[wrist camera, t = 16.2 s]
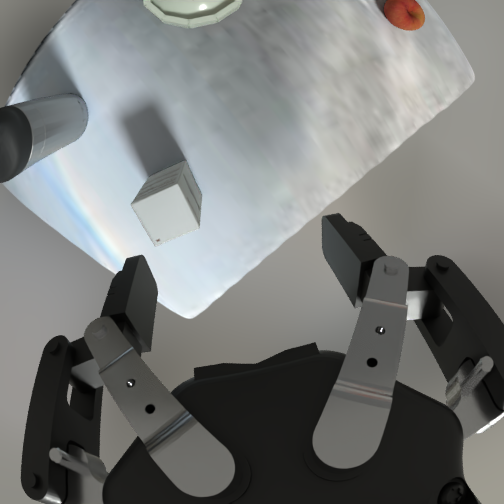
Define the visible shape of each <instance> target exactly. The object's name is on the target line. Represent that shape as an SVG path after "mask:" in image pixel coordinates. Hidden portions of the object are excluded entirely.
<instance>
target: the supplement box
mask: <svg viewBox="0 0 504 504" xmlns="http://www.w3.org/2000/svg"><path fill="white" fill-rule="evenodd" d="M201 203H202V194H201V192H200V190H199V188H198V186H197V184H196V182H195V180H194V178H193V175H192V173H191V171H190V168H189V166H188V163H187V161H186V160H184V161H182V162H180V163H177V164H175V165H173V166H171V167H168V168H166V169H164V170H162V171H160V172H158V173H156V174H153V175H151V176H149V178H148V179H147V181H146V182H145V183H144V185H143V186H142V188H141V189H140V191H139V193H138V194H137V196H136V197H135V199H134V200H133V202H132V203H131V206H132V208H133V210H134V212H135V213H136V215H137V217H138V219H139V220H140V222H141V224H142V226H143V228H144V229H145V231H146V232H147V234H148V236H149V237H150V239H151V241H152V242H153V244H154V246H155V247H156V246H159V245H161V244H163V243H165V242H168V241H170V240H173V239H175V238H178V237H180V236H183V235H185V234H188V233H190V232H193V231H195V230H198V229H199V228H200V215H201Z"/></svg>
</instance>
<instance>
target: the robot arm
mask: <svg viewBox="0 0 504 504" xmlns="http://www.w3.org/2000/svg"><path fill="white" fill-rule="evenodd" d="M87 122H88V110H87V107H86V104H85V102H84V101H83V100H82V99H81V98H80V97H79V96H77V95H75V94H62V95H55V96H50V97H44V98H39V99H34V100H30V101H25V102H21V103H17V104H14V105H10V106H5V107H2V108H0V183H3V182H6V181H9V180H10V179H12V178H14V177H15V176H17V175H18V174H20V173H21V172H23V171H24V170H26V169H27V168H29V167H30V166H32V165H33V164H35V163H37V162H38V161H40V160H42V159H43V158H45V157H47V156H49V155H50V154H52V153H54V152H56V151H57V150H59V149H61V148H63V147H65V146H67V145H69V144H71V143H73V142H75V141H76V140H77V139H79V138H80V136H81V135H82V134H83V132H84V131H85V129H86V126H87ZM322 249H323V254H324V256H325V259H326V261H327V262H328V264H329V265H330V267H331V269H332V270H333V272H334V273H335V275H336V277H337V279H338V280H339V282H340V284H341V285H342V287H343V289H344V290H345V292H346V294H347V295H348V297H349V299H350V301H351V302H352V304H353V306H354V308H358V307H361V306H362V307H361V311H360V314H359V317H358V320H357V324H356V327H355V330H354V333H353V336H352V339H351V342H350V345H349V348H348V351H347V354H343V353H339V352H335V351H325V350H324V351H323V350H321V351H319V350H318V348H317V345H316V343H315V342H314V343H311V344H307V345H303V346H300V347H296V348H292V349H288V350H285V351H283V352H281V353H278V354H276V355H274V356H272V357H270V358H268V359H266V360H263V361H261V362H259V363H256V364H233V363H221V364H216V365H210V366H203V367H197V368H194V377H193V378H191V379H189V380H187V381H185V382H183V383H182V384H180V385H179V386H177V387H176V388H175V389H174V390H173V391H172V392H171V393H170V392H169V391H168V389H167V388H166V387H165V386H164V385H163V384H162V383H161V382H160V380H159V379H158V378H157V377H156V376H155V375H154V373H153V372H152V371H151V370H150V368H149V367H148V366H147V365H146V364H145V362H144V361H143V360H142V359H141V353H142V352H150V351H151V344H152V334H153V326H154V318H155V310H156V303H157V296H158V289H157V284H156V281H155V279H154V277H153V275H152V273H151V270H150V268H149V266H148V264H147V261H146V259H145V257H144V256H143V255H138V256H134V257H130V258H127V259H126V261H125V264H124V266H123V269H122V271H119V272H118V273H117V274H116V276H115V277H114V278H113V280H112V282H111V285H110V289H109V291H108V294H107V295H108V296H107V297H106V300H105V303H104V306H103V310H102V313H101V316H100V318H97V319H95V320H94V321H92V322H91V323H90V324H89V325H88V327H87V328H86V330H85V333H84V337H82V338H80V339H78V340H76V341H73V342H71V343H70V342H69V341H68V339H67V338H66V337H65V336H62V335H59V336H56V337H54V338H52V339H51V340H50V341H49V342H48V343H47V344H46V346H45V348H44V350H43V354H42V357H41V360H40V364H39V367H38V372H37V375H36V379H35V383H34V387H33V391H32V396H31V401H30V406H29V411H28V416H27V423H26V429H25V436H24V443H23V453H22V465H21V483H22V487H23V489H24V491H25V493H26V494H27V495H28V496H29V497H30V498H32V499H33V500H36V501H39V502H42V503H45V504H481V503H480V501H479V500H478V499H477V497H476V496H475V495H474V493H473V492H472V491H471V489H470V488H469V487H468V485H467V483H466V481H465V478H464V474H463V463H462V453H463V452H462V451H463V441H464V440H465V439H467V438H468V437H470V436H472V435H473V434H475V433H482V432H485V431H486V430H487V429H489V428H490V427H492V426H493V425H494V424H496V423H497V422H498V421H500V420H501V419H502V418H504V324H503V323H502V322H501V320H500V318H498V316H497V314H496V313H495V312H494V310H493V309H492V308H491V306H490V305H489V304H488V302H487V301H486V300H485V299H484V297H483V296H482V295H481V293H480V292H479V291H478V290H477V289H476V288H475V286H474V285H473V284H472V282H471V281H470V280H469V279H468V278H467V277H466V275H465V274H464V273H463V272H462V271H461V270H460V268H459V267H458V266H457V265H456V264H455V263H454V262H453V261H452V260H451V259H449V258H447V257H445V256H440V255H435V256H431V257H429V258H428V260H427V262H426V266H425V267H408V265H407V264H406V263H405V262H404V261H403V260H402V259H400V258H397V257H394V256H387V255H386V254H385V253H384V251H383V250H382V249H381V248H380V247H379V246H378V245H377V244H376V242H375V241H374V240H373V239H372V238H371V237H370V236H369V235H368V234H367V232H366V231H365V230H364V229H363V228H362V227H361V226H359V225H357V224H355V223H353V222H347V221H346V220H345V219H344V218H343V217H342V216H341V214H339V213H336V214H331V215H327V216H323V217H322ZM444 305H445V307H446V308H447V310H448V311H449V312H450V314H451V316H452V318H453V322H452V320H451V319H450V317H449V316H448V314H447V313H446V311H445V310H444ZM412 319H413V320H414V321H415V323H416V325H417V327H418V328H419V330H420V332H421V334H422V335H423V337H424V339H425V340H426V342H427V344H428V346H429V348H430V349H431V351H432V353H433V355H434V357H435V359H436V361H437V363H438V364H439V366H440V368H441V370H442V372H443V374H444V376H445V378H446V379H447V382H448V384H447V387H446V393H445V394H446V399H447V400H446V405H447V406H446V405H445V404H443V403H441V402H439V401H437V400H435V399H433V398H431V397H429V396H426V395H424V394H422V393H420V392H418V391H416V390H414V389H412V388H410V387H408V386H406V385H404V384H402V383H400V382H398V381H397V380H396V376H397V372H398V367H399V362H400V357H401V351H402V345H403V340H404V334H405V326H406V320H412ZM69 384H70V385H71V386H73V387H72V394H71V400H70V406H69V404H68V402H67V391H68V385H69ZM103 385H105V386H106V387H107V389H108V391H109V392H110V394H111V396H112V397H113V399H114V401H115V402H116V404H117V405H118V407H119V408H120V410H121V411H122V413H123V414H124V416H125V417H126V419H127V420H128V422H129V423H130V425H131V426H132V428H133V429H134V431H135V432H136V433H137V435H138V436H137V438H136V439H135V440H134V442H133V443H132V444H131V446H130V447H129V448H128V449H127V451H126V452H125V453H124V455H123V456H122V458H121V459H120V460H119V461H118V463H117V464H116V465H115V467H114V468H113V469H112V470H111V472H110V473H108V472H107V471H106V467H105V465H104V463H103V462H102V460H101V459H100V458H99V450H100V449H99V448H100V447H99V446H100V421H101V406H102V394H103Z"/></svg>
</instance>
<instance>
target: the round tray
mask: <svg viewBox="0 0 504 504" xmlns="http://www.w3.org/2000/svg"><path fill="white" fill-rule="evenodd" d="M143 1H144V5H145V7H146V8H147V9H148V10H149V11H150V12H151V13H152V14H154V15H155V16H156V17H157V18H158V19H159V20H161V21H162V22H163V23H165V24H169V25H174V26H179V27H184V28H189V27H190V28H195V27H200V26H205V25H210V24H215V23H216V22H220V21H221V20H223V19H224V18H225V17H227V16H228V15H230V14H232V13H233V12H235V11H236V10H238V8H240V6H241V4H242V2H243V0H143Z"/></svg>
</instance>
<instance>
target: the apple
mask: <svg viewBox="0 0 504 504" xmlns="http://www.w3.org/2000/svg"><path fill="white" fill-rule="evenodd" d="M384 13H385V16H386V18H387V19H388V21H389V22H390V23H391V24H393V25H394V26H396V27H398V28H400V29H403V30H416V29H419V28H420V27H422V26H423V24H424V21H425V15H424V12H423V10H422V8H421V6H420V5H419V4H418V3H417V2H416V1H415V0H387V1H386V3H385V5H384Z"/></svg>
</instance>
